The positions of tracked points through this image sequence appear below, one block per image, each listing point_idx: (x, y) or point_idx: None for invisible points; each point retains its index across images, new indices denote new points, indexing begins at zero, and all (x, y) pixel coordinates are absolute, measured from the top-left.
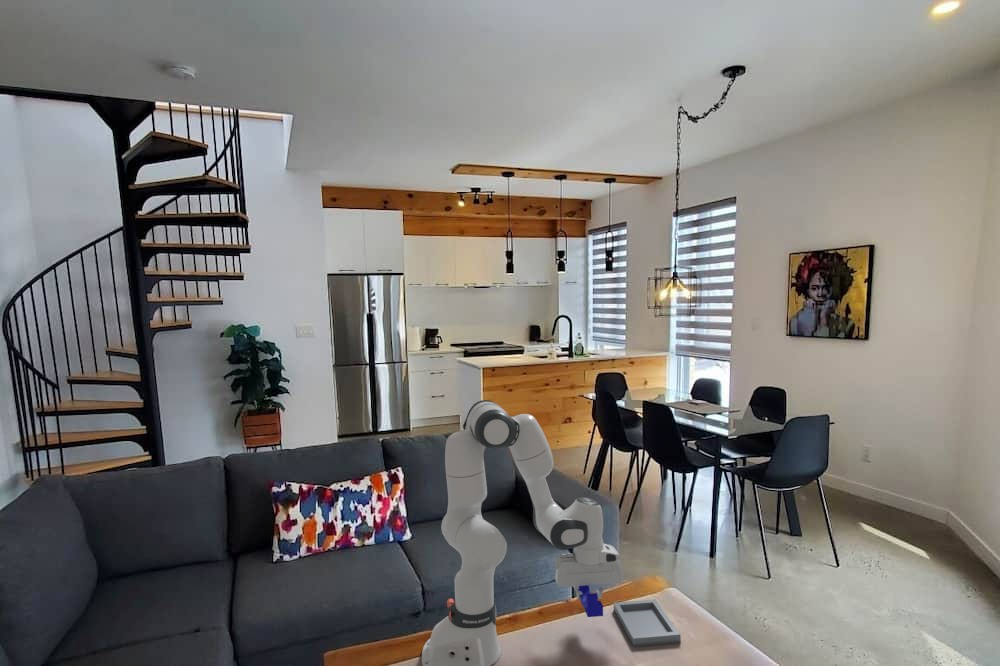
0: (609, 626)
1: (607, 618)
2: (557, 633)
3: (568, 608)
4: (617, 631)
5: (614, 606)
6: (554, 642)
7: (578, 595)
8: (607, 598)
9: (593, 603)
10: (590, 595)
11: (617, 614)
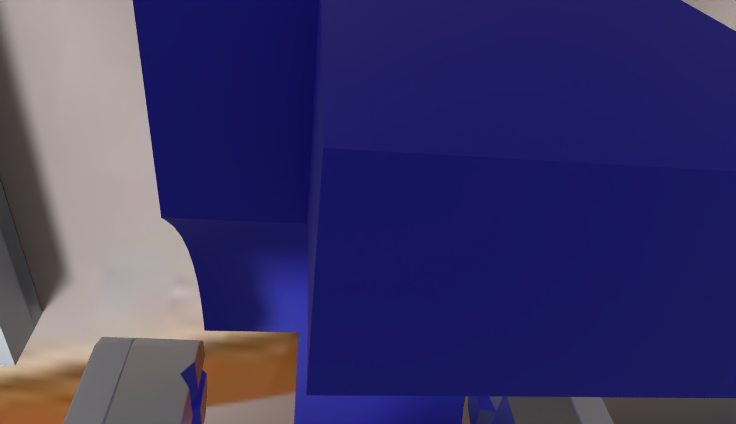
0: (117, 137)
1: (116, 236)
2: None
3: None
4: (43, 51)
5: (15, 332)
6: (720, 18)
7: (598, 413)
8: None
9: (504, 4)
10: None
11: (4, 252)
